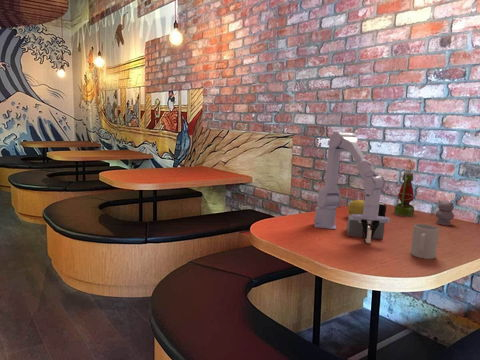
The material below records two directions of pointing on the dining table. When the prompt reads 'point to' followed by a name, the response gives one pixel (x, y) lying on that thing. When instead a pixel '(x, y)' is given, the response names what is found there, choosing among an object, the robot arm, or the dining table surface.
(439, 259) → the dining table surface
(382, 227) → the panel
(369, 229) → the pale narrow strip
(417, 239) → the mug
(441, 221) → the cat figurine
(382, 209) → the beverage can
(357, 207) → the fruit
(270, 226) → the dining table surface
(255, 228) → the dining table surface
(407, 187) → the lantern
